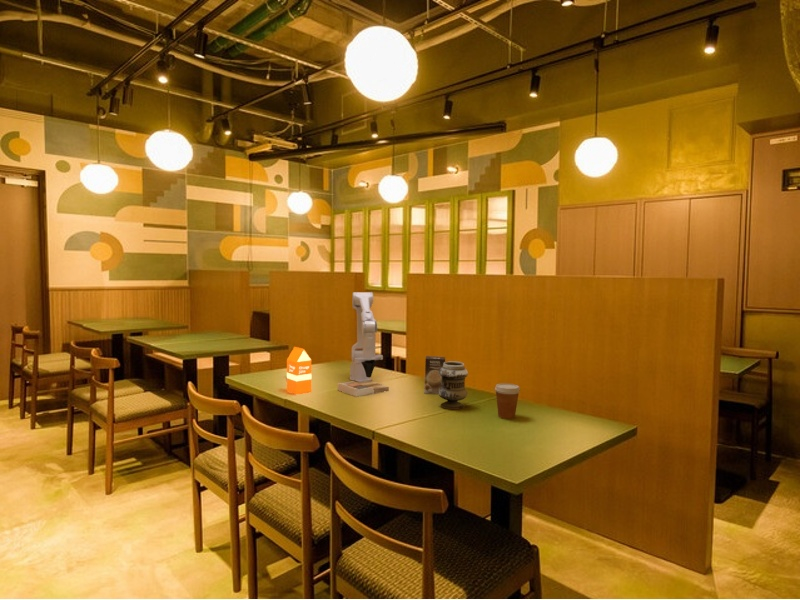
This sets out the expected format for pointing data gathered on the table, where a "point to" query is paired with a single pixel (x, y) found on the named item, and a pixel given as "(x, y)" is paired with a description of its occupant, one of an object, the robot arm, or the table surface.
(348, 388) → the tray
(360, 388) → the tile slate
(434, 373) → the coffee box
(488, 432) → the table surface
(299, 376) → the orange juice
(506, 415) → the disposable coffee cup
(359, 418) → the table surface
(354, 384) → the tile terracotta
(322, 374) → the table surface
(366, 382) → the board
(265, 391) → the table surface
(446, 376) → the apothecary jar
